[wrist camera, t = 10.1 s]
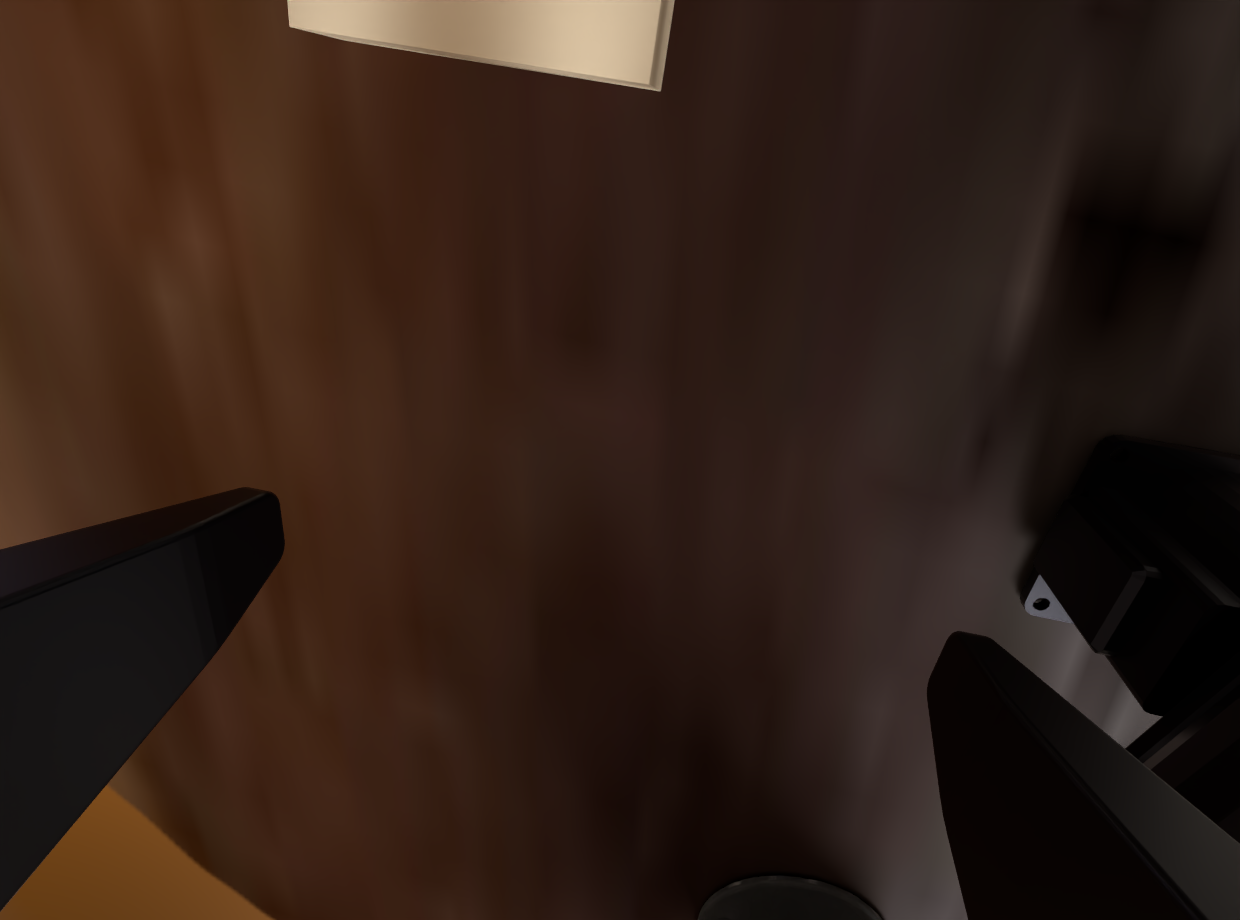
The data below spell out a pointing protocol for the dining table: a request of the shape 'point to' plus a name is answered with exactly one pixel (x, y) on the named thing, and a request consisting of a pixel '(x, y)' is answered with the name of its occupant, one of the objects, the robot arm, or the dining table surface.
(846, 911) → the milk frother
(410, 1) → the block
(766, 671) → the dining table surface
